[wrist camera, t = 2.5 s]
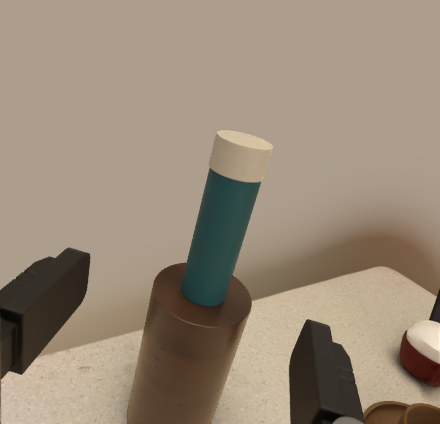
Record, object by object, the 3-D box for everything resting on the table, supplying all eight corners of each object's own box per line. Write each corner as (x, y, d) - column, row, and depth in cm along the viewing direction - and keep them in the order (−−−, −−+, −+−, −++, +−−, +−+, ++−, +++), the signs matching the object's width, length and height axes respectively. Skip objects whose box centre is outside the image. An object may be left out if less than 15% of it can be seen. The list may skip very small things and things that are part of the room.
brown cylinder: (185, 476, 27) (229, 345, 21) (108, 425, 29) (132, 294, 23) (222, 404, 33) (264, 288, 27) (157, 366, 35) (184, 252, 29)
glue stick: (215, 315, 23) (263, 152, 19) (170, 292, 24) (206, 133, 20) (234, 289, 26) (280, 144, 22) (193, 270, 27) (229, 127, 23)
